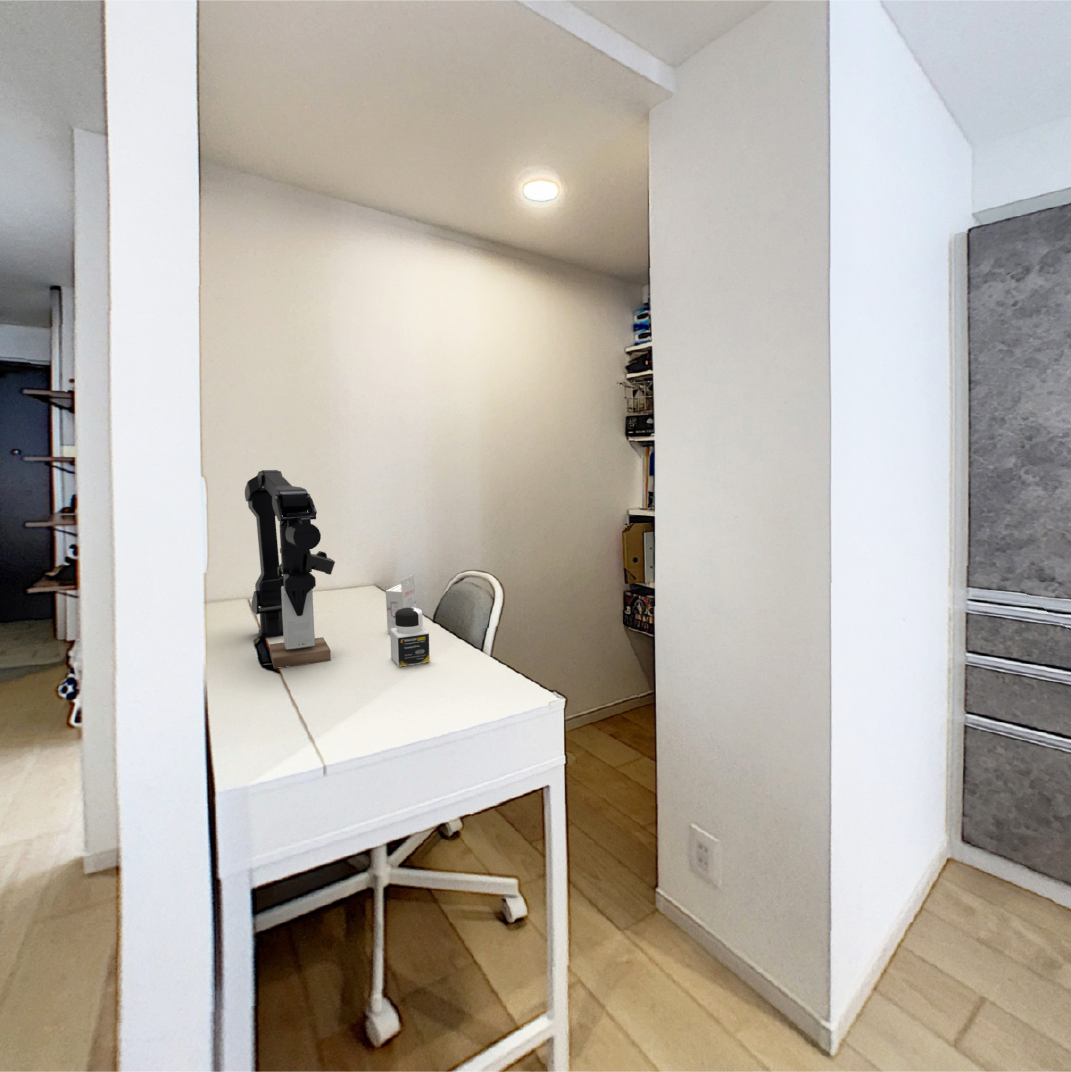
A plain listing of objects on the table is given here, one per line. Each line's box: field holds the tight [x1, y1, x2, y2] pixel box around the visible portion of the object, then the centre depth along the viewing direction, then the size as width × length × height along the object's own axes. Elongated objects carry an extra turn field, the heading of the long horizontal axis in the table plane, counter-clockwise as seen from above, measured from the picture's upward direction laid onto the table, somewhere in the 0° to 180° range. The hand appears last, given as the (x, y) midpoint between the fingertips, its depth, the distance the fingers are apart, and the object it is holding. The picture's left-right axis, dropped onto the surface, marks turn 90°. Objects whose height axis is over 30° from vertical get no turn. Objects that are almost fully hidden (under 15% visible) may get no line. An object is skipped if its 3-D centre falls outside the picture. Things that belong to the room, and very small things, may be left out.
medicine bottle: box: [389, 607, 430, 668], centre depth 136 cm, size 7×7×12 cm
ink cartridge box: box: [385, 573, 417, 635], centre depth 160 cm, size 9×5×15 cm, turn 168°
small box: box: [281, 586, 316, 649], centre depth 137 cm, size 8×6×13 cm
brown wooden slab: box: [268, 636, 332, 670], centre depth 138 cm, size 11×12×2 cm
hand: (297, 611), depth 137 cm, fingers closed on small box, 8 cm apart
